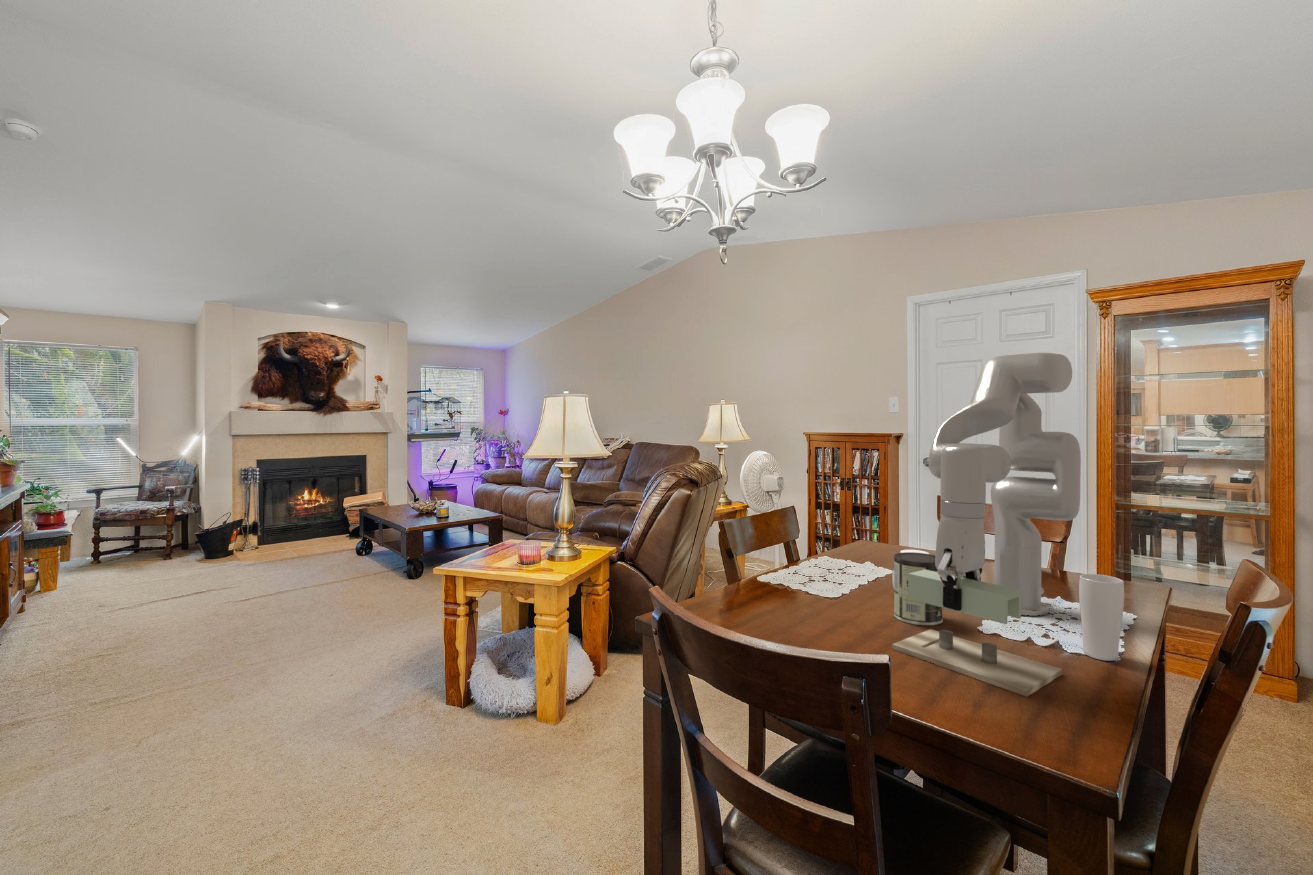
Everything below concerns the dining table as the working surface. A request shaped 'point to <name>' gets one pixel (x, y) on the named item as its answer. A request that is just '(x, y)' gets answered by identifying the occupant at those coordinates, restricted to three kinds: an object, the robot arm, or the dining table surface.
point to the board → (979, 661)
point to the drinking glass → (1101, 615)
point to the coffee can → (903, 606)
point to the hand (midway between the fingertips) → (961, 604)
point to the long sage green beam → (968, 596)
